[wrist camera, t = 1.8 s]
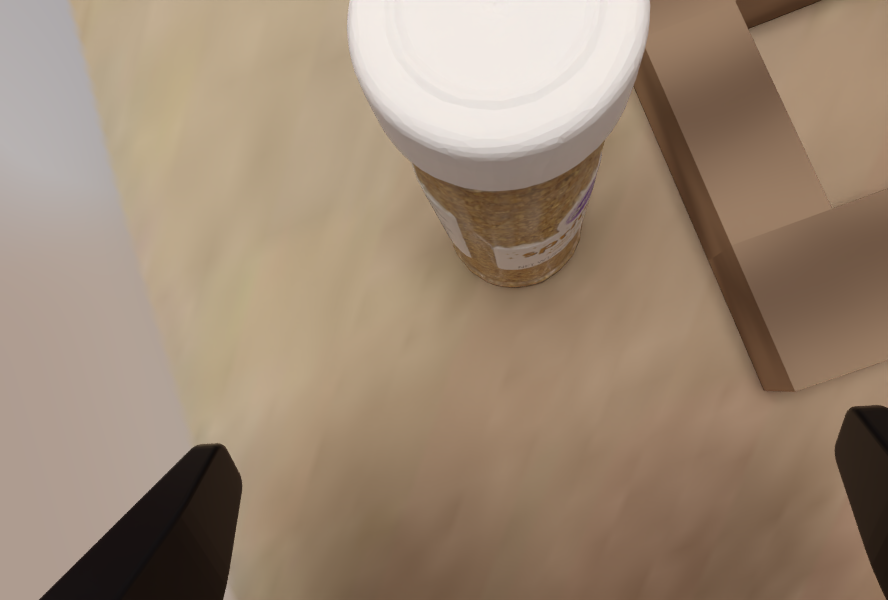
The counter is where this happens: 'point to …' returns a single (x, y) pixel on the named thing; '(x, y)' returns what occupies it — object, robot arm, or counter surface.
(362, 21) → the sprinkles bottle
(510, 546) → the counter surface
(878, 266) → the brown wooden tray
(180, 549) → the robot arm
